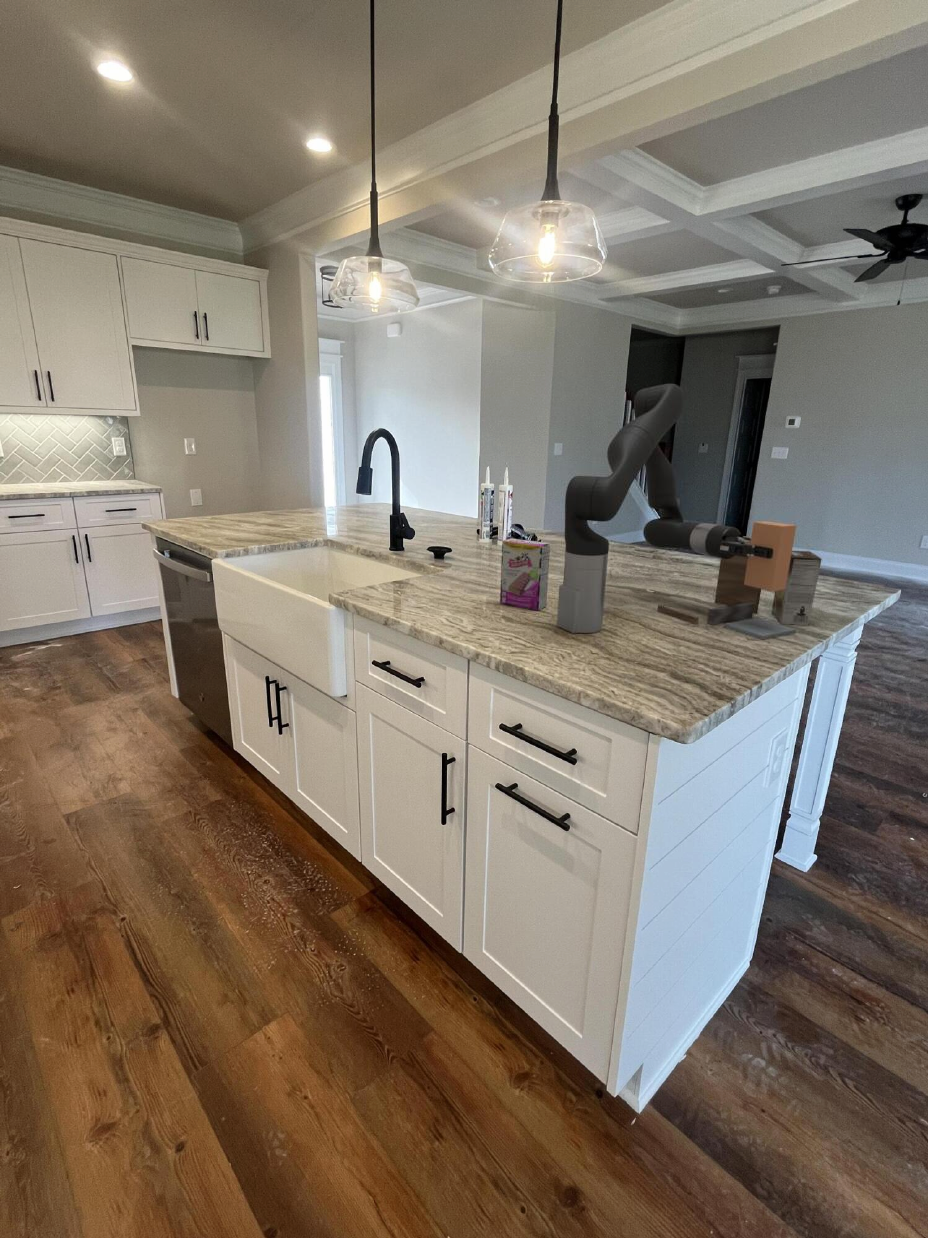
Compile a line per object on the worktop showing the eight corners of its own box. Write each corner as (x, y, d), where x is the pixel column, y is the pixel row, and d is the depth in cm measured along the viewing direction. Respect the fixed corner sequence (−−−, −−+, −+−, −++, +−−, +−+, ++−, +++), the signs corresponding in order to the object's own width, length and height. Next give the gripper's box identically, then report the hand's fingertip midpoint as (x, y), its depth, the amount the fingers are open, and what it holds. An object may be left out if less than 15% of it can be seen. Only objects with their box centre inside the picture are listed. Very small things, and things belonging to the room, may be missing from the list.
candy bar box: (498, 604, 155) (501, 540, 150) (508, 600, 159) (510, 537, 154) (538, 611, 149) (542, 545, 144) (547, 607, 153) (551, 542, 148)
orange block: (771, 591, 131) (782, 526, 127) (743, 584, 137) (753, 522, 133) (785, 589, 133) (796, 525, 129) (757, 582, 139) (767, 521, 135)
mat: (762, 639, 131) (763, 636, 130) (724, 626, 139) (724, 623, 139) (795, 633, 135) (796, 629, 135) (756, 621, 144) (757, 617, 144)
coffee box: (769, 613, 151) (780, 549, 146) (797, 615, 149) (809, 550, 145) (780, 624, 142) (792, 556, 137) (810, 626, 141) (823, 558, 136)
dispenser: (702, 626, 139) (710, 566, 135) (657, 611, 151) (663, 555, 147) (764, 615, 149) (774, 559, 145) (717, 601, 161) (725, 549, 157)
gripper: (695, 526, 141) (760, 537, 126) (737, 523, 147) (803, 533, 133) (691, 558, 143) (754, 572, 129) (733, 553, 149) (797, 567, 135)
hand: (779, 552), depth 131 cm, fingers closed on orange block, 4 cm apart
